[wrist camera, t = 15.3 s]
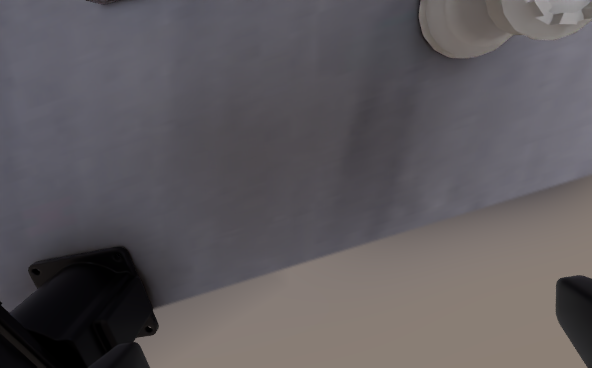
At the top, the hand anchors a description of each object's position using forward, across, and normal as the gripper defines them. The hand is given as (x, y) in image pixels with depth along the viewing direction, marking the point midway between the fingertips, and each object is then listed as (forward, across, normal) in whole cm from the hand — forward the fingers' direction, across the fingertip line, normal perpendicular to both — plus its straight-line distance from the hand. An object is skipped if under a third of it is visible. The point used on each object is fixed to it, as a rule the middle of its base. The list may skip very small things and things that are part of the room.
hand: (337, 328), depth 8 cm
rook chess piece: (+13, -8, -6) cm, 17 cm away
